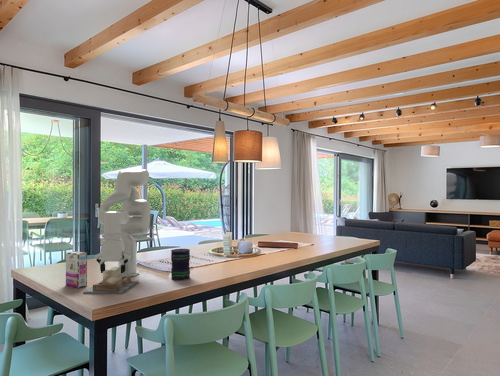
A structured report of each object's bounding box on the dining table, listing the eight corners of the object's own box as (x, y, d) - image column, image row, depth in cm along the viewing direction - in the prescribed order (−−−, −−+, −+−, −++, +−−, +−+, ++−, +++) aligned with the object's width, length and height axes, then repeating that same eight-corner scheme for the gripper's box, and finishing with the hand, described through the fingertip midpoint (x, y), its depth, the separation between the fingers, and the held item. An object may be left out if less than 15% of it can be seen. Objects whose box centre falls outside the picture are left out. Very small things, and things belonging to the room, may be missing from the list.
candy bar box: (87, 286, 176) (87, 252, 176) (78, 288, 172) (77, 254, 172) (74, 283, 182) (74, 250, 182) (65, 285, 178) (65, 252, 178)
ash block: (102, 288, 166) (102, 271, 167) (112, 282, 177) (112, 266, 178) (112, 288, 166) (112, 271, 166) (121, 283, 177) (121, 266, 177)
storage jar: (172, 276, 195) (172, 248, 195) (190, 275, 196) (190, 248, 196) (169, 280, 185) (169, 251, 185) (189, 280, 186) (188, 251, 186)
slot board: (103, 282, 182) (103, 275, 182) (138, 282, 181) (138, 275, 181) (83, 293, 162) (83, 285, 162) (122, 293, 161) (122, 286, 161)
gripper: (91, 238, 169) (91, 274, 169) (127, 238, 168) (127, 274, 168) (98, 235, 177) (99, 270, 177) (133, 235, 176) (133, 270, 176)
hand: (112, 272), depth 173 cm, fingers open, 9 cm apart
